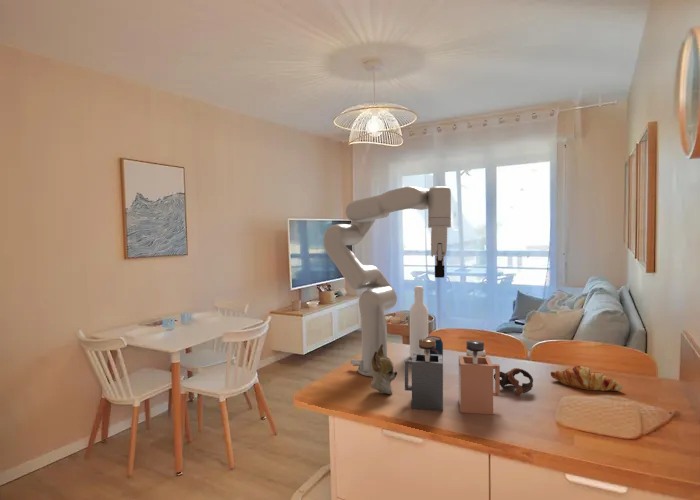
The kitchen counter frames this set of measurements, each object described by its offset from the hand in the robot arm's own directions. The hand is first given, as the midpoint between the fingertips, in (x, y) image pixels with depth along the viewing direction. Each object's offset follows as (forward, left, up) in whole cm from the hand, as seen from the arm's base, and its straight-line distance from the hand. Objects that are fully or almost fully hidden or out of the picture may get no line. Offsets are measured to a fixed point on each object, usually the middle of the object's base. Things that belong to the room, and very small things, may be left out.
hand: (439, 277), depth 141 cm
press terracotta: (+11, -17, -37) cm, 42 cm away
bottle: (-8, +32, -37) cm, 50 cm away
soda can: (-2, +17, -37) cm, 41 cm away
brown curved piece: (+24, -1, -37) cm, 44 cm away
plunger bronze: (-4, -17, -36) cm, 40 cm away
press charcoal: (-5, -17, -37) cm, 41 cm away
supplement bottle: (+13, +10, -37) cm, 41 cm away
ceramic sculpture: (-18, -11, -37) cm, 43 cm away
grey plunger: (+10, -17, -36) cm, 41 cm away
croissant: (+48, +7, -38) cm, 61 cm away
